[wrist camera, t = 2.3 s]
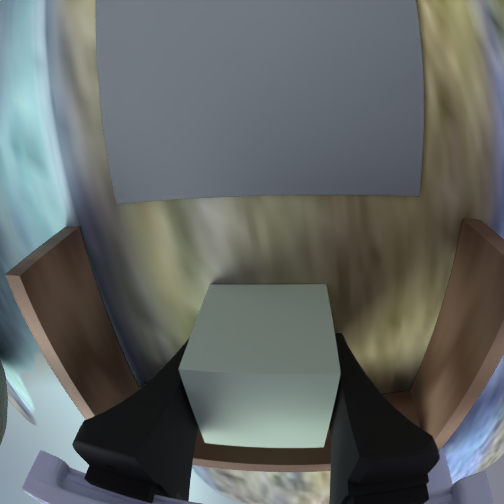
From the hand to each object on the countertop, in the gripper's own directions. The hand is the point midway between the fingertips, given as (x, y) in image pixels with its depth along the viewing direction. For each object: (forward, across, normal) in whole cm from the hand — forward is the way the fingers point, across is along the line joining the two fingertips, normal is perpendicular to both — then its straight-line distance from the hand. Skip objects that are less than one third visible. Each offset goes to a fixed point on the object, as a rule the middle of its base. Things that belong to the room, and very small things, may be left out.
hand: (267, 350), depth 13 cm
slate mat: (+1, 0, -12) cm, 12 cm away
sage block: (+1, 0, 0) cm, 1 cm away
